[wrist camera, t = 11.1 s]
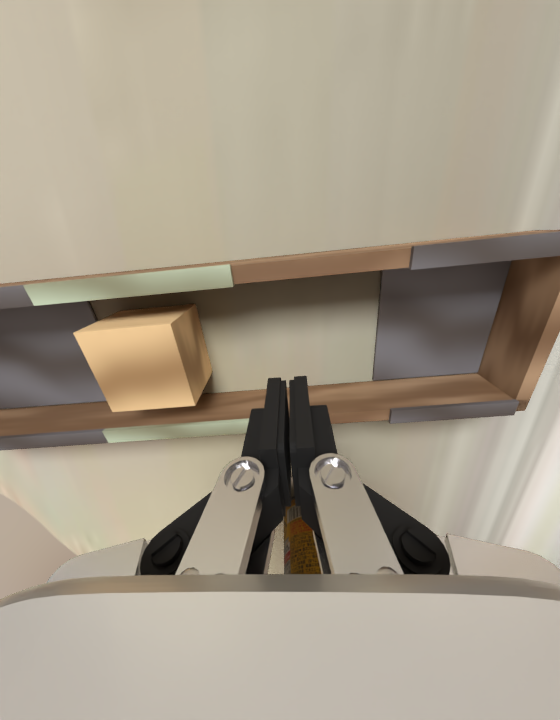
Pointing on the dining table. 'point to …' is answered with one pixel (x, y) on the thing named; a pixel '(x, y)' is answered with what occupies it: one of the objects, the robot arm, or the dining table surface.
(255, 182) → the dining table surface
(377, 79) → the dining table surface
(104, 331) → the block
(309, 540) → the condiment
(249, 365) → the dining table surface
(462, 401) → the box
